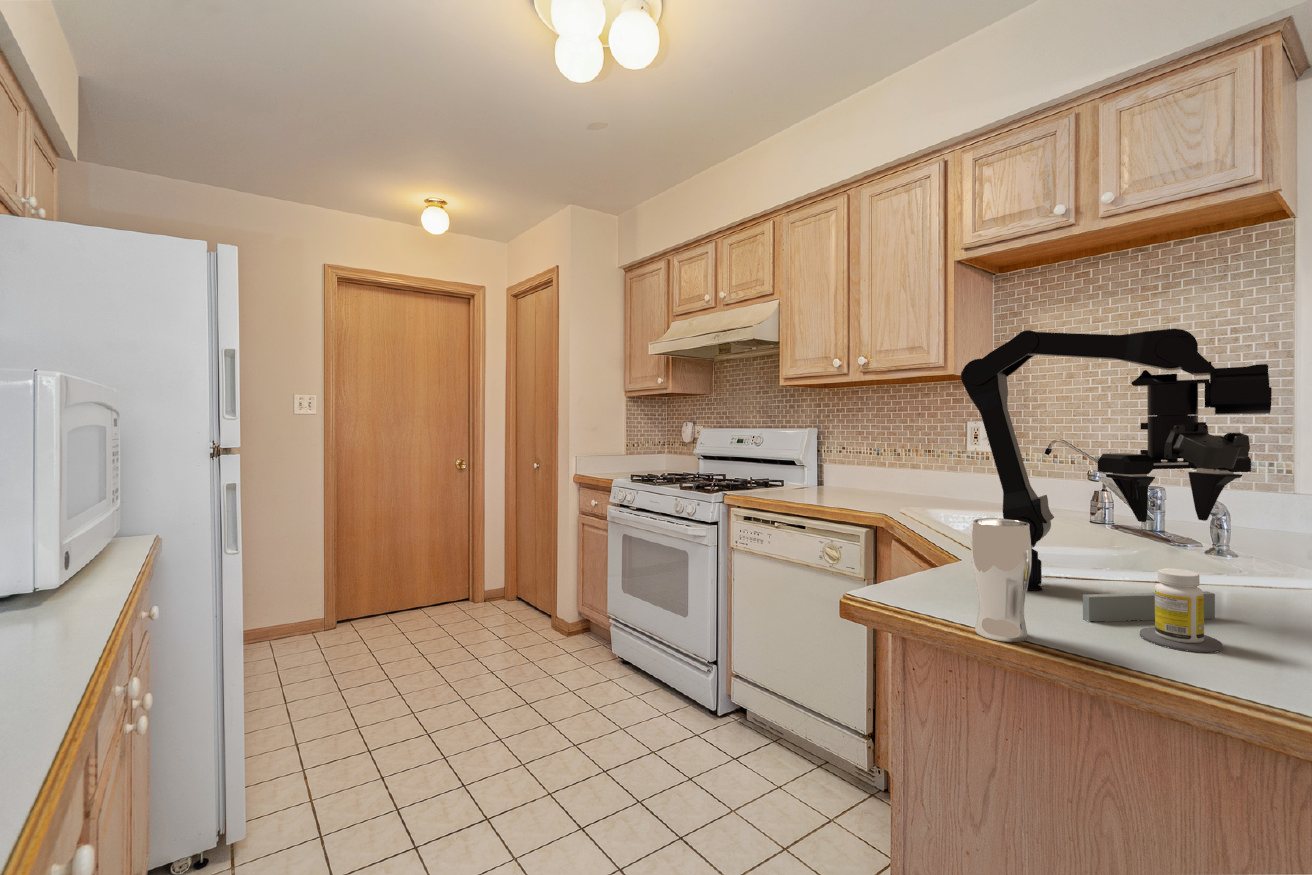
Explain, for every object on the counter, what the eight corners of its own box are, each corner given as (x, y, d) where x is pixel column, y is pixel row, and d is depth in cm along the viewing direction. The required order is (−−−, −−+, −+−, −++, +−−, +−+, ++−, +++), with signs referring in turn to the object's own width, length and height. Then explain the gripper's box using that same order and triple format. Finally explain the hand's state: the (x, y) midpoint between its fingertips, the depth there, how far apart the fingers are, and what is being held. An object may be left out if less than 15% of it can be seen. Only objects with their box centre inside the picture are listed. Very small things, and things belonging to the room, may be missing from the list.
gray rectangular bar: (1089, 621, 85) (1089, 597, 85) (1082, 619, 86) (1082, 594, 86) (1214, 618, 86) (1214, 593, 86) (1206, 615, 87) (1206, 591, 87)
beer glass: (959, 630, 83) (959, 520, 83) (995, 622, 86) (995, 516, 85) (1007, 647, 77) (1006, 528, 76) (1044, 638, 79) (1043, 523, 79)
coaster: (1162, 650, 74) (1162, 647, 74) (1127, 628, 82) (1127, 625, 82) (1239, 654, 73) (1239, 651, 73) (1196, 631, 81) (1196, 628, 81)
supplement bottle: (1185, 631, 80) (1185, 567, 80) (1214, 644, 75) (1214, 576, 75) (1145, 630, 80) (1145, 567, 80) (1172, 643, 76) (1172, 576, 75)
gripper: (1156, 416, 82) (1156, 532, 82) (1292, 413, 82) (1291, 528, 82) (1094, 417, 93) (1095, 519, 93) (1214, 414, 93) (1214, 516, 94)
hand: (1172, 521), depth 90 cm, fingers open, 9 cm apart
